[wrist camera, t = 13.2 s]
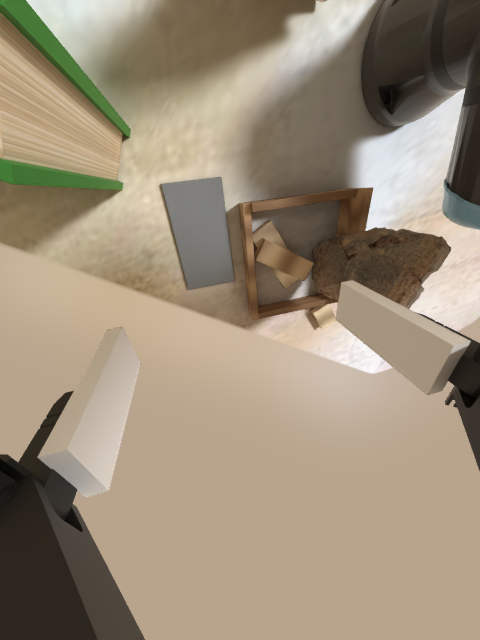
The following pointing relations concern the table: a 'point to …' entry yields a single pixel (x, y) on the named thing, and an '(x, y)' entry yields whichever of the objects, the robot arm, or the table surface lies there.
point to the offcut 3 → (323, 315)
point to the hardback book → (51, 111)
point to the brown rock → (379, 262)
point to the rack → (350, 212)
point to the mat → (200, 230)
